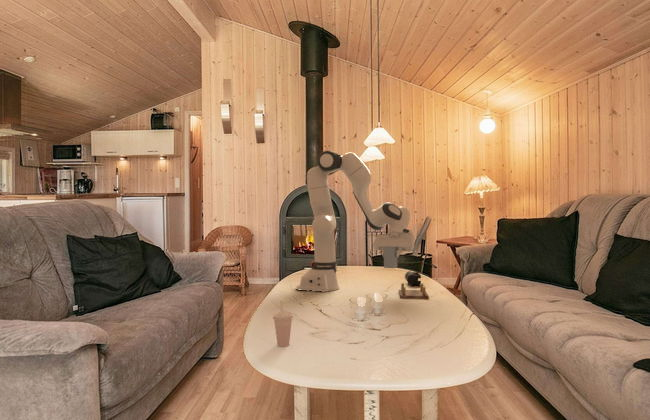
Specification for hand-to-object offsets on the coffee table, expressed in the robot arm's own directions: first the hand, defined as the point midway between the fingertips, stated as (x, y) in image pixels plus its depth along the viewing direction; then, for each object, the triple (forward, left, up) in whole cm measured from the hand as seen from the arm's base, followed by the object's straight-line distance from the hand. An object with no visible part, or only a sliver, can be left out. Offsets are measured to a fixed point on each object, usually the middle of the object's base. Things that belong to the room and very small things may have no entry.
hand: (390, 256), depth 203 cm
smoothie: (-36, -73, -19) cm, 84 cm away
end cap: (+13, +26, -19) cm, 34 cm away
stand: (+11, 0, -19) cm, 22 cm away
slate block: (0, +1, -5) cm, 5 cm away
